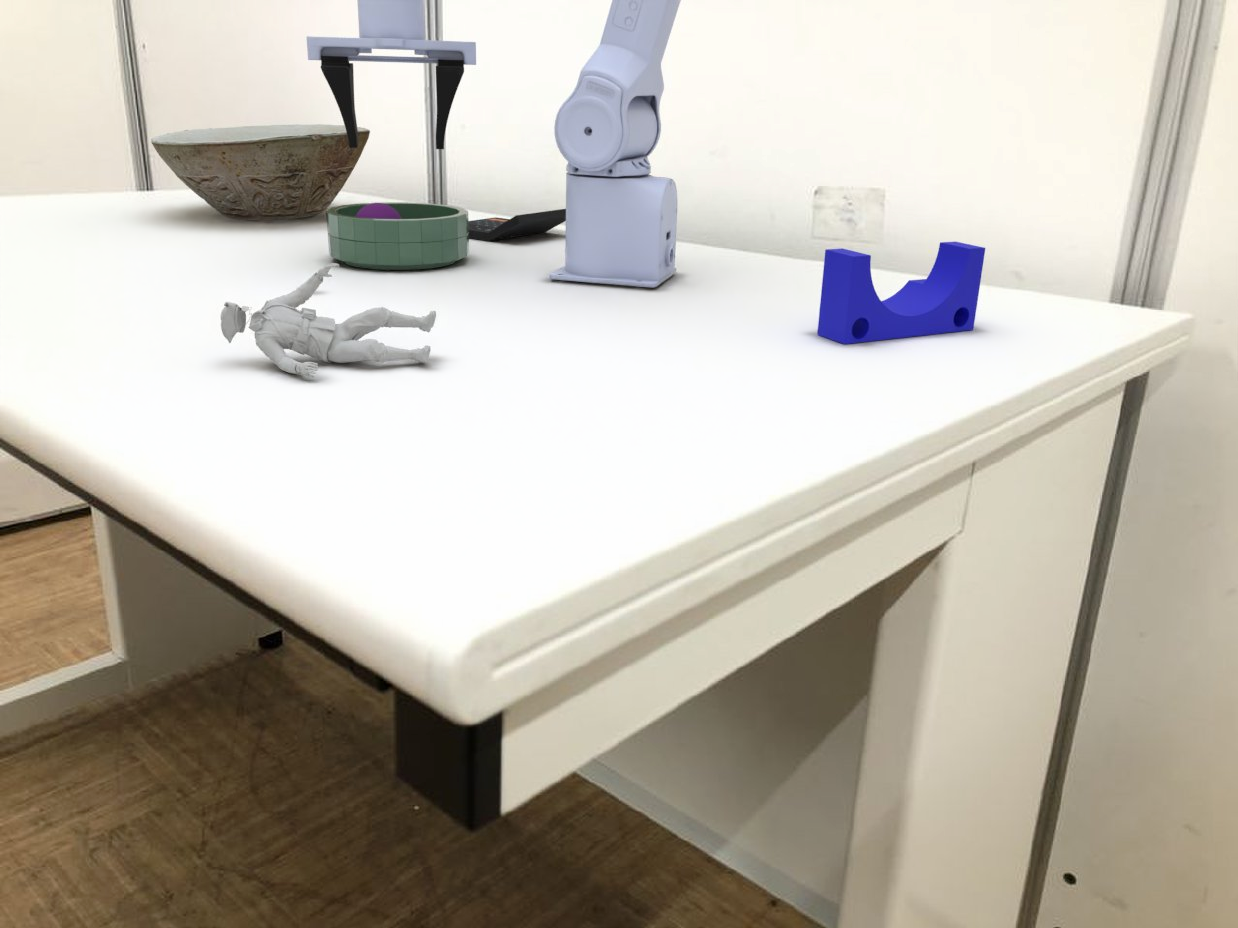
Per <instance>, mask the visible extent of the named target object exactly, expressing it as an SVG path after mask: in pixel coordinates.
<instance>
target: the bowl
mask: <svg viewBox="0 0 1238 928" xmlns="http://www.w3.org/2000/svg"><path fill="white" fill-rule="evenodd" d="M357 130H358V145H359V146H358V147H357V148H349V142H348V136H347V132H346V128H345V125H343V124H342V125H341V124H271V125H270V124H269V125H247V126H246V125H245V126H233V127H232V126H231V127H215V128H213V127H212V128H210V127H209V128H195V129H185V130H181V131H176V132H169V133H165V134H163V135H158V136H154V137H152V138H150V139H151V140H150V141H151V145H152V146H153V149H155V151H156V153H157V154H158V156H159V157H160V158H161V160H162V161H163V162H164V163H165V164H166V166H168V168H169V169H170V170H171V171H172V172H173V173H174V174H175V176H176V177H177V178H178V179H179V180H180V181H181V182H182V183H183V184H184V185H185V186H186V187H187V188H189V189H190V190H191V191H192V192H193V193H194V194H196V195H197V197H199V198H201V199H202V200H204V201H205V202H206V203H207V204H208V205H209V206H210V207H211V208H212V209H214V210H215V211H216V212H218V213H219V214H221V215H222V216H224V217H227V218H230V219H236V220H243V221H269V220H270V221H271V220H272V221H274V220H275V221H277V220H289V219H299V218H305V217H311V216H315V215H316V216H317V215H319V214H321V213H324V211H326V210H327V208H329V206H330V205H331V204H332V203H333V202H334V200H335V199H336V198H337V196H338V194H339V193H340V192H341V191H342V189H343V187H344V186H345V185H346V182H347V181H348V179H349V178H350V176H351V174H352V172H353V171H354V169H355V167H356V165H357V163H358V161H359V159H360V158H361V155H362V154H363V152H364V149H365V147H366V145H367V143H368V140H369V138H370V135H371V134H370V133H371V131H370V129H368V128H365V127H361V126H357Z"/></svg>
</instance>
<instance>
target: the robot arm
mask: <svg viewBox="0 0 1238 928" xmlns="http://www.w3.org/2000/svg"><path fill="white" fill-rule="evenodd" d="M356 1H357V19H358V36H359V37H346V36H345V37H343V36H342V37H339V36H335V37H334V36H309V35H307V36H306V48H307V49H306V51H307V60H308V61H320V70H321V72H322V74H323V76H324V78H325V80H326V81H327V82H326V83H327V85H328V86H329V88H330V91H331V93H332V95H333V98H334V99H335V102H336V104H337V107H338V109H339V112H340V115H341V117H342V121H343V124H344V125H345V128H346V132H347V136H348V142H349V148H357V147H358V146H359V145H358V130H357V127H358V122H357V115H356V106H355V83H354V82H355V80H354V63H353V62H369V63H370V62H372V63H375V62H377V63H404V64H405V63H407V64H436V65H435V83H436V84H435V85H436V86H435V87H436V88H435V89H436V122H435V123H436V124H435V125H436V126H435V150H445V137H446V130H447V125H448V120H449V117H450V112H451V109H452V106H453V102H454V100H455V96H456V94H457V91H458V88H459V86H460V83H461V81H462V78H463V75H464V73H465V65H466V66H467V65H468V66H476V65H477V42H476V41H462V40H461V41H457V40H435V39H434V40H431V39H426V22H425V21H426V20H425V18H426V17H425V0H356ZM680 5H681V0H611V4H610V7H609V11H608V14H607V18H606V21H605V25H604V29H603V31H602V35H601V38H600V42H599V45H598V47H596V50H595V51H594V52H593V53H592V54H591V56H590V57H589V59H588V60H587V61H586V63H585V64H584V65H583V67H582V68H581V69H580V72H579V76H578V79H577V82H576V85H575V87H574V89H573V91H572V92H571V93H570V95H569V96H568V97H567V98H566V100H564V102H562V104H561V106H560V107H559V109H558V110H557V113H556V116H555V120H554V139H555V143H556V146H557V148H558V151H559V152H560V154H561V156H562V157H563V158H564V159H565V160H566V161H567V164H566V166H565V168H566V169H565V171H566V173H565V209H566V221H565V251H564V252H565V254H564V256H565V260H564V261H565V262H564V266H562V267H560V268H558V269H557V270H555V271H552V272H551V273H549V275H548V276H549V279H550V280H555V281H568V282H579V283H592V284H601V285H602V284H603V285H614V286H627V287H637V288H638V287H640V288H649V289H650V288H656V287H658V286H660V285H661V284H662V283H664V282H665V281H666V280H668V279H670V278H671V277H672V276H673V275H675V274H676V273H677V268H676V249H677V246H676V245H677V228H678V227H677V226H678V225H677V224H678V190H677V185H676V184H677V183H676V182H675V180H674V179H673V178H672V177H667V176H666V177H665V176H664V177H663V176H654V175H652V174H651V172H652V166H651V163H650V161H649V158H648V157H649V156H650V155H652V153H653V151H654V150H655V149H656V148H657V145H658V143H659V140H660V137H661V133H662V121H661V114H660V113H661V112H660V106H661V100H662V97H663V93H664V90H665V83H664V76H663V71H662V61H663V58H664V55H665V52H666V49H667V46H668V41H669V39H670V36H671V34H672V29H673V26H674V23H675V19H676V17H677V13H678V10H679V8H680ZM373 50H402V51H414V55H417V56H395V55H394V56H393V55H392V56H391V55H364V54H372V53H373V52H372V51H373ZM361 54H363V55H361ZM425 56H426V57H425Z"/></svg>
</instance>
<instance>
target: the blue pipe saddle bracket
mask: <svg viewBox="0 0 1238 928" xmlns="http://www.w3.org/2000/svg"><path fill="white" fill-rule="evenodd" d="M938 245H939V246H938V250H937V255H936V258H935V261H934V264H933V266H932V268H931V270H930V272H929V274H928V276H927V277H926V278H923V279H922V278H921V279H910V280H908V281H907V282H906V283H905V284H904V286H902V288H900V289H899V290H898V291H897V292H896V293H894V294H893V295H891V296H890V297H888V298H886V299H884V300H881V299H880V297H879V295H878V294H877V291H876V288H875V286H874V283H873V282H874V281H873V278H872V270H871V269H872V268H871V267H872V266H871V265H872V264H871V261H872V260H871V259H872V255H871V254H868V253H863V252H859V251H855V250H852V249H846V248H844V247H843V248H828V249H825V250H824V260H823V270H822V281H821V294H820V300H819V301H820V302H819V311H818V323H817V332H816V333H817V334H816V335H817V336H820V337H822V338H826V339H828V340H831V341H834V342H837V343H840V344H842V345H850V344H858V343H866V342H867V343H868V342H877V341H885V340H887V341H888V340H893V339H895V340H896V339H904V338H913V337H922V336H930V335H941V334H947V333H948V334H949V333H957V332H965V331H974V329H975V328H974V327H975V321H976V315H977V308H978V301H979V294H980V287H981V282H982V281H981V280H982V274H983V269H984V267H983V266H984V260H985V253H986V247H984V246H978V245H974V244H969V243H964V242H960V241H942V242H939V244H938Z"/></svg>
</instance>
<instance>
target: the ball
mask: <svg viewBox="0 0 1238 928" xmlns="http://www.w3.org/2000/svg"><path fill="white" fill-rule="evenodd" d="M371 203H372V204H368V205H366V206H364V207H363V208H362V209H360V210H359V212H358V213H357V214H356V216H355V217H360V218H374V219H402V218H401V216H400V215H399V213H398V212H397V211H396V210H395V209H394V208H392V207H391V206H389V205H387V204H384V203H382V202H371Z"/></svg>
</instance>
